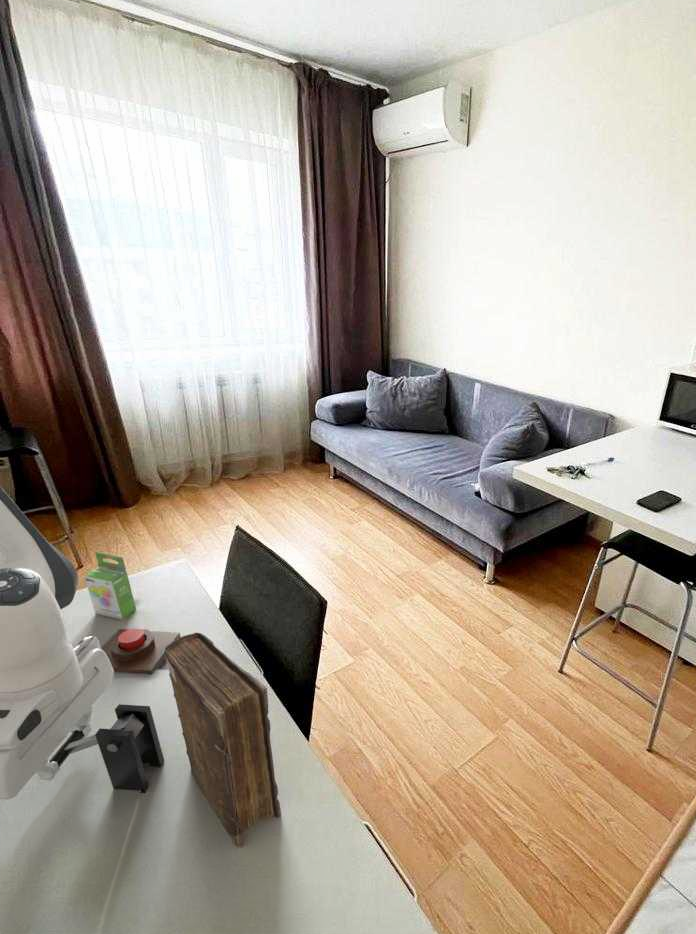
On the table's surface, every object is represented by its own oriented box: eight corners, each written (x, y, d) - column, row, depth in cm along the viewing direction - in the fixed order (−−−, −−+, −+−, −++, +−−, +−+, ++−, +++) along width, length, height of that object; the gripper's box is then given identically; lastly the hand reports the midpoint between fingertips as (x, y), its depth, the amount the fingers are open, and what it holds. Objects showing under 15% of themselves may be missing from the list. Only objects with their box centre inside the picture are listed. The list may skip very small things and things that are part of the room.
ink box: (94, 614, 104) (78, 561, 98) (110, 603, 107) (95, 551, 102) (121, 621, 103) (107, 567, 97) (137, 609, 106) (124, 557, 101)
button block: (87, 675, 89) (81, 658, 88) (121, 637, 99) (117, 621, 97) (153, 679, 89) (148, 662, 88) (181, 641, 99) (178, 625, 97)
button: (115, 649, 91) (113, 642, 90) (128, 634, 94) (126, 627, 94) (137, 651, 91) (135, 643, 90) (149, 636, 94) (147, 628, 94)
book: (188, 769, 74) (157, 641, 64) (234, 742, 79) (213, 618, 69) (234, 858, 64) (207, 723, 54) (285, 821, 69) (269, 689, 58)
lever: (54, 773, 68) (41, 762, 67) (79, 741, 73) (68, 730, 72) (128, 748, 66) (116, 736, 65) (150, 716, 70) (139, 705, 69)
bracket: (79, 809, 68) (54, 746, 63) (120, 751, 77) (101, 690, 71) (165, 815, 68) (147, 752, 63) (197, 756, 77) (184, 696, 71)
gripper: (72, 627, 74) (94, 695, 80) (-59, 750, 55) (-18, 826, 61) (114, 630, 74) (133, 697, 80) (-3, 753, 55) (33, 829, 61)
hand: (67, 754), depth 70 cm, fingers closed on lever, 5 cm apart
